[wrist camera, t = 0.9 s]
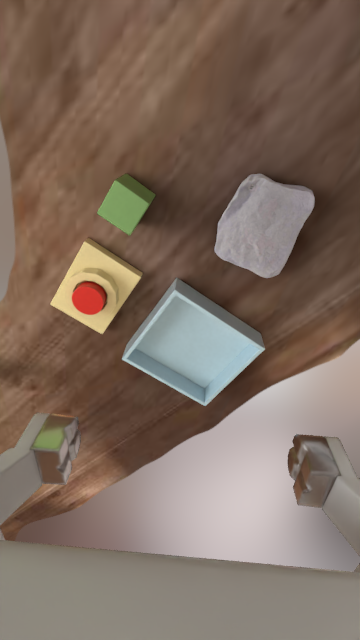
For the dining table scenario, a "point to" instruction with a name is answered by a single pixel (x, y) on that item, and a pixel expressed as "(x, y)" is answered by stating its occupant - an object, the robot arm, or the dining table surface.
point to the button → (89, 298)
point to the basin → (192, 344)
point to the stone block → (262, 224)
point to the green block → (126, 203)
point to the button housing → (105, 272)
